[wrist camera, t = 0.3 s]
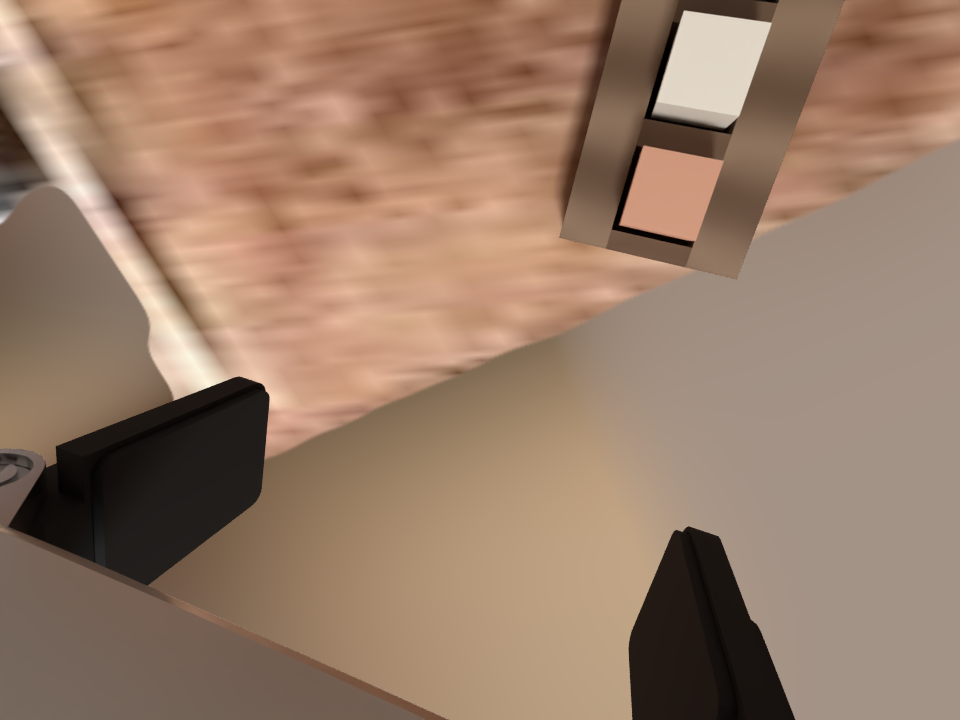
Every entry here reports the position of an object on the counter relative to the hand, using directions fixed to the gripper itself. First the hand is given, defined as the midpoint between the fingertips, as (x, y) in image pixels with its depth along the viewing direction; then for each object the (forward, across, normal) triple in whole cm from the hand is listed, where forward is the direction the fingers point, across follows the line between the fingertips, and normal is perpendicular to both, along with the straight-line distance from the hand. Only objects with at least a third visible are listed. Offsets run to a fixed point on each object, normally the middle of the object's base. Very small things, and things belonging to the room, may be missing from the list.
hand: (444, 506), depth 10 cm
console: (+30, -5, -16) cm, 34 cm away
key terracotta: (+27, -5, -9) cm, 29 cm away
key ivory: (+27, -5, -16) cm, 32 cm away
